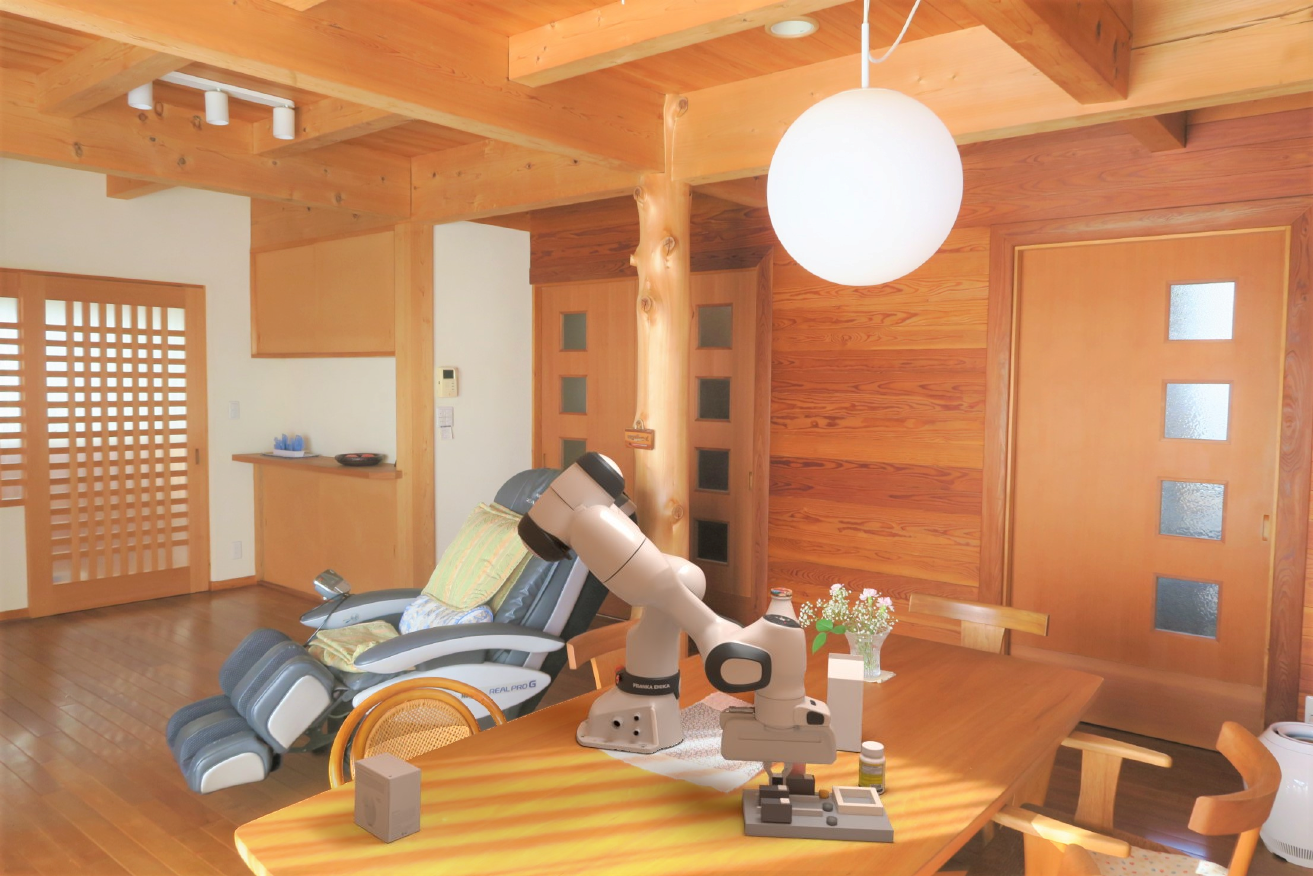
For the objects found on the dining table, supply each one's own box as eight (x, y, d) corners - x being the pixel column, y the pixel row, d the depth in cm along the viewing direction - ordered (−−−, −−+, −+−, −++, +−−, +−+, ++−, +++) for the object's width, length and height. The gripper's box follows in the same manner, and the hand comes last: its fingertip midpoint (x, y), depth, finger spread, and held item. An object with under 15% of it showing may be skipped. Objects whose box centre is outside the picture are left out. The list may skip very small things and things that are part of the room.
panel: (745, 835, 151) (746, 814, 151) (742, 799, 164) (742, 780, 164) (893, 842, 150) (894, 821, 150) (878, 805, 163) (878, 786, 162)
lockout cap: (783, 789, 169) (784, 757, 168) (780, 778, 173) (781, 747, 173) (808, 790, 168) (809, 758, 168) (805, 779, 173) (806, 748, 173)
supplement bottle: (865, 782, 172) (867, 738, 172) (888, 789, 170) (890, 744, 169) (853, 790, 169) (855, 745, 168) (877, 798, 166) (879, 752, 165)
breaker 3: (785, 795, 161) (786, 777, 161) (784, 790, 163) (785, 772, 163) (814, 796, 161) (815, 778, 160) (813, 791, 163) (813, 774, 162)
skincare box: (422, 830, 150) (422, 768, 150) (387, 844, 145) (387, 780, 145) (387, 809, 157) (387, 749, 157) (352, 822, 152) (353, 760, 152)
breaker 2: (761, 821, 151) (761, 802, 151) (760, 815, 153) (760, 796, 153) (791, 822, 151) (792, 803, 151) (790, 816, 153) (791, 798, 153)
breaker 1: (759, 807, 156) (759, 788, 156) (758, 801, 158) (759, 783, 158) (788, 808, 156) (789, 790, 156) (787, 803, 158) (788, 785, 158)
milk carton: (860, 753, 186) (864, 661, 185) (825, 749, 187) (828, 658, 186) (860, 740, 193) (863, 651, 192) (825, 736, 194) (829, 648, 193)
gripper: (720, 712, 158) (718, 790, 159) (839, 716, 157) (837, 795, 158) (719, 699, 165) (717, 774, 165) (834, 704, 164) (831, 779, 164)
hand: (776, 785), depth 162 cm, fingers closed
